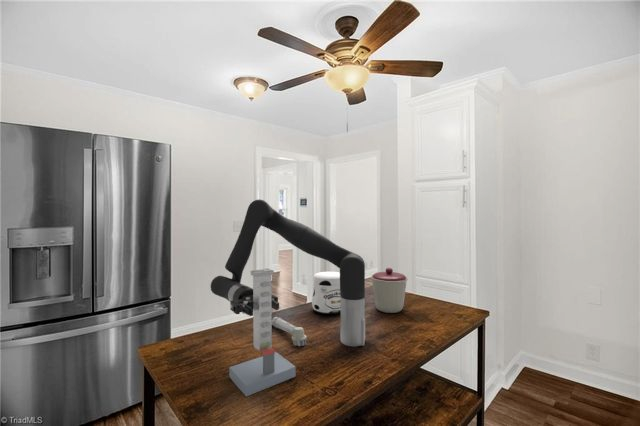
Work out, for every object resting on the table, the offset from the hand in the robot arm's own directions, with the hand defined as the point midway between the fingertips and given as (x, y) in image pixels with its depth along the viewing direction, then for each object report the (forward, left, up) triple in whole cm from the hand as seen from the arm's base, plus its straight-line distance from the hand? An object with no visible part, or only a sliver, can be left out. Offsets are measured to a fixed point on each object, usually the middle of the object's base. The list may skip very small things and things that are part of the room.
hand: (265, 309), depth 90 cm
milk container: (-8, -63, -21) cm, 67 cm away
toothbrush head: (+4, -32, -22) cm, 39 cm away
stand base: (+1, -1, -21) cm, 21 cm away
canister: (-37, -71, -21) cm, 83 cm away
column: (+1, -1, -12) cm, 12 cm away
